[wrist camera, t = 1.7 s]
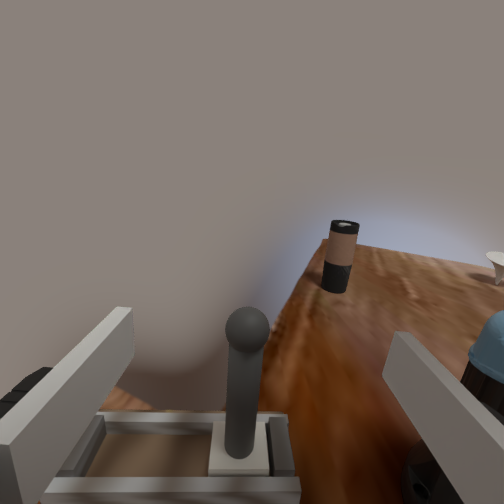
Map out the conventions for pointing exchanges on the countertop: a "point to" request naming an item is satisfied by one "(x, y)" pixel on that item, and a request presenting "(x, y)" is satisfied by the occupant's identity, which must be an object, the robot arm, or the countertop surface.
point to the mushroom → (497, 264)
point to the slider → (242, 401)
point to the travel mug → (339, 255)
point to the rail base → (167, 462)
